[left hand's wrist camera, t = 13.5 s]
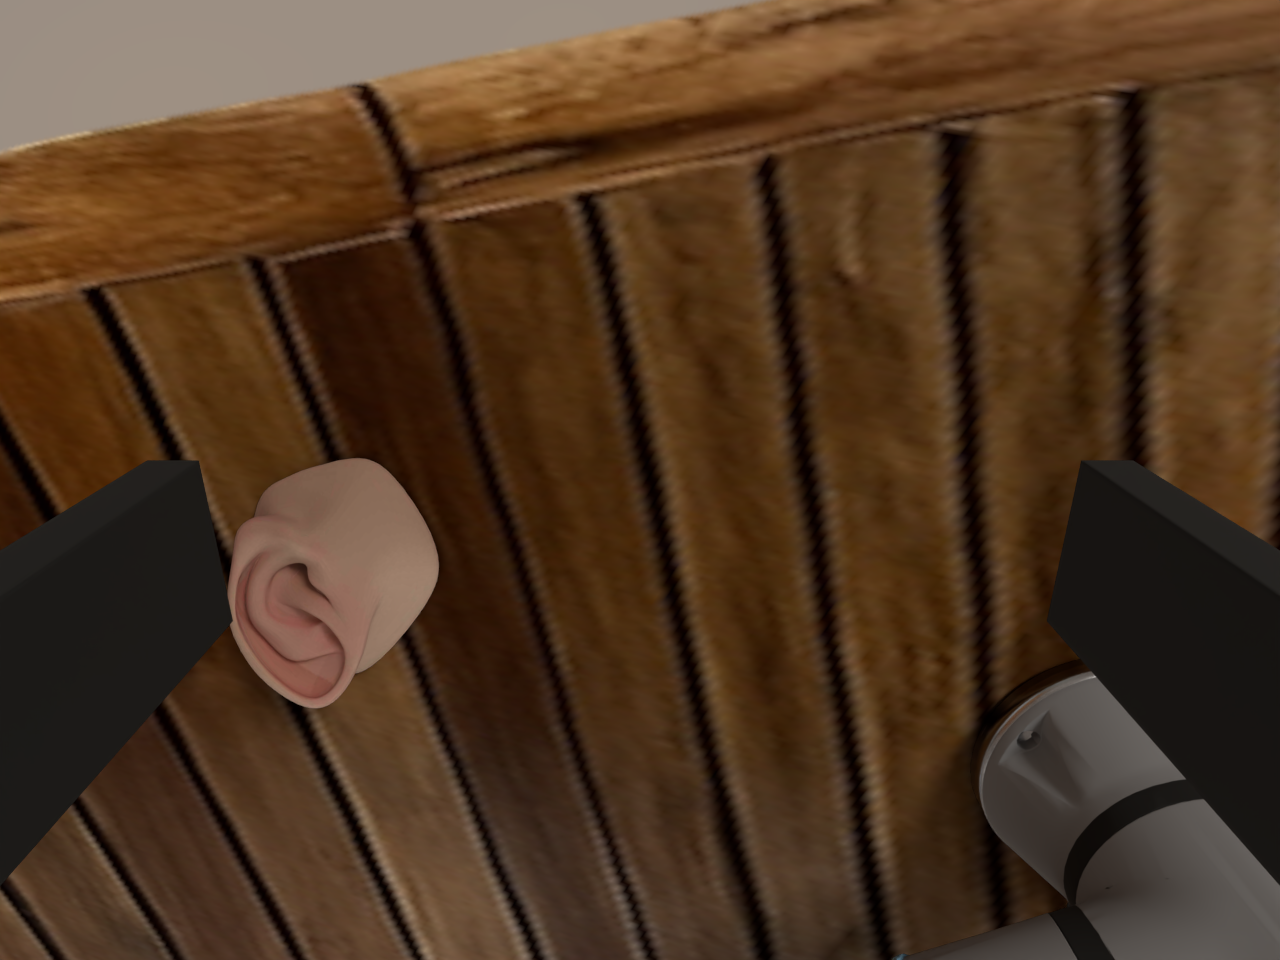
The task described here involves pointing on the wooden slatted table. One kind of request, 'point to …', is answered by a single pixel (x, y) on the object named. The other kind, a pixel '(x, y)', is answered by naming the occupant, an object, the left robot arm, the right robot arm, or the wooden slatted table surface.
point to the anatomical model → (328, 577)
